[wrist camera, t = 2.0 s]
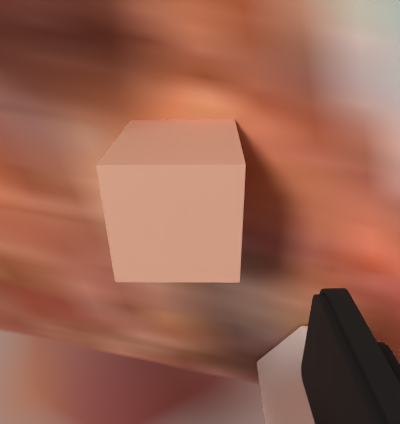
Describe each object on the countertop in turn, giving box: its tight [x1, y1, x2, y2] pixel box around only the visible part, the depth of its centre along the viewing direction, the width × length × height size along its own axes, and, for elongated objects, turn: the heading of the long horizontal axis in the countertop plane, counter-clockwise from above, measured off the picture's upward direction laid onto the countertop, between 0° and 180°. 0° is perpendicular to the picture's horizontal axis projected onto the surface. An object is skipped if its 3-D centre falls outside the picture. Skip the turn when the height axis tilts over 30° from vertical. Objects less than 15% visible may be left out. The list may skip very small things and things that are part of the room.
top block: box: [96, 119, 246, 283], centre depth 16 cm, size 5×5×6 cm
